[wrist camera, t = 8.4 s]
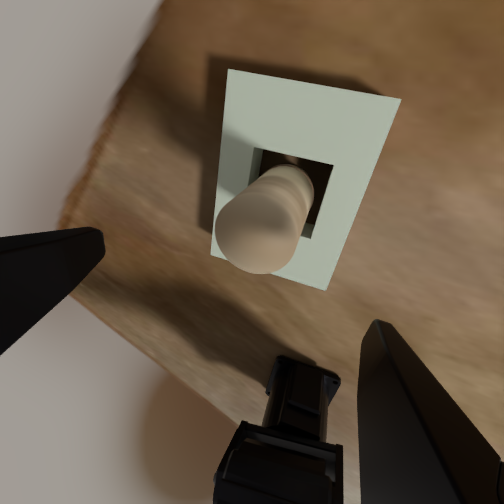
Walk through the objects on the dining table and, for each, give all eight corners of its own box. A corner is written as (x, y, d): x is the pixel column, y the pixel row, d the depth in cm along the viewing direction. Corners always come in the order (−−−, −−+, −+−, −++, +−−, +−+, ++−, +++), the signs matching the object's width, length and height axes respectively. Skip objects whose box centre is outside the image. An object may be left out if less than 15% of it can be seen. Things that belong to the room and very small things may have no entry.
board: (327, 272, 21) (325, 290, 19) (223, 241, 23) (210, 254, 20) (393, 100, 15) (401, 99, 13) (242, 74, 16) (228, 68, 14)
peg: (309, 216, 19) (286, 285, 12) (261, 203, 20) (210, 260, 12) (324, 165, 17) (309, 208, 10) (270, 152, 18) (218, 184, 10)
